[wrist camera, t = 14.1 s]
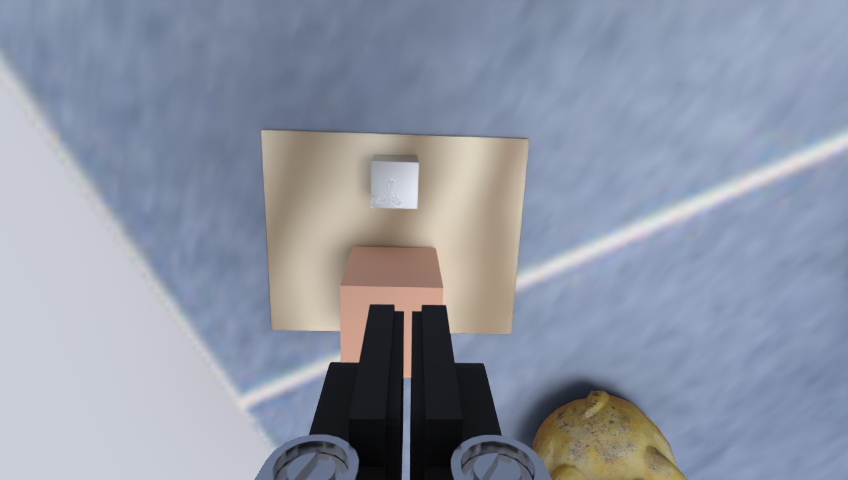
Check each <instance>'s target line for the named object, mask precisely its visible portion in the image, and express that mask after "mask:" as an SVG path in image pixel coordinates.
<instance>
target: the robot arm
mask: <svg viewBox="0 0 848 480" xmlns="http://www.w3.org/2000/svg"><path fill="white" fill-rule="evenodd" d="M403 385H404V311H395V305H394V304H370V306H369V312H368V317H367V322H366V327H365V333H364V338H363V343H362V349H361V354H360V359H359V362H331V363H330V365H329V368H328V371H327V374H326V378H325V381H324V385H323V388H322V392H321V395H320V399H319V402H318V406H317V409H316V412H315V416H314V419H313V423H312V426H311V430H310V433H309V435H308V436H303V437H298V438H296V439H293V440H291V441H289V442H286V443H284V444H283V445H282V446H280V447H279V448H277V449H276V450H275V451H274V452H273V453H272V454H271V455H270V456H269V458H268V459H267V460H266V461H265V463H264V465H263V466H262V468H261V470H260V471H259V473H258V475H257V477H256V478H255V480H402V448H403ZM410 480H552V478H551V477H550V475H549V473H548V471H547V469H546V467H545V466H544V464H543V462H542V460H541V459H540V458H539V457H538V455H537V454H536V453H535V451H533V450H532V449H531V448H529V447H528V446H527V445H525V444H524V443H521V442H519V441H517V440H515V439H512V438H509V437H504V436H502V435H501V431H500V427H499V423H498V419H497V415H496V411H495V406H494V402H493V398H492V394H491V390H490V386H489V382H488V378H487V374H486V370H485V366H484V364H483V363H455V362H454V355H453V349H452V342H451V335H450V328H449V321H448V314H447V307H446V305H422V307H421V311H412V344H411V416H410Z"/></svg>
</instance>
